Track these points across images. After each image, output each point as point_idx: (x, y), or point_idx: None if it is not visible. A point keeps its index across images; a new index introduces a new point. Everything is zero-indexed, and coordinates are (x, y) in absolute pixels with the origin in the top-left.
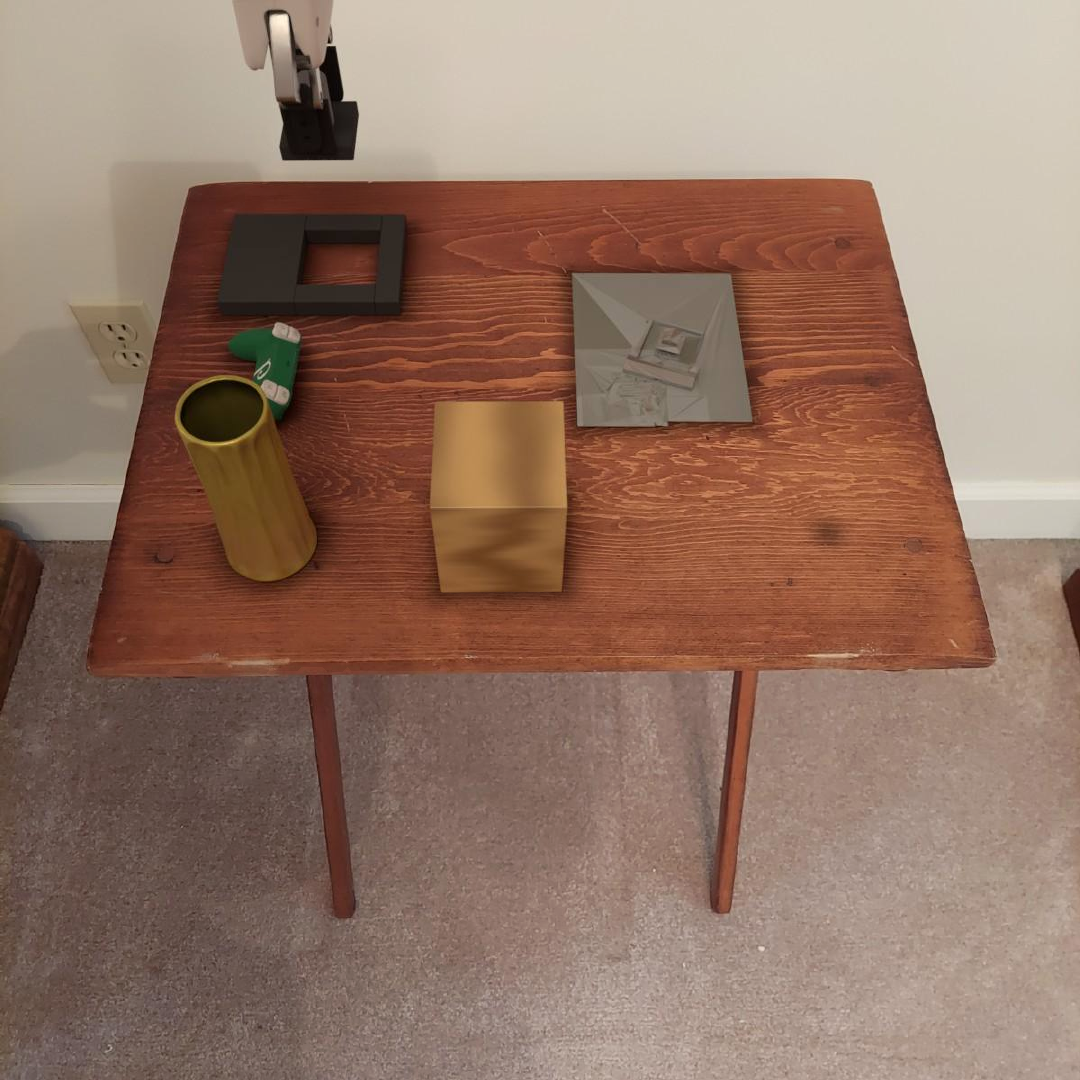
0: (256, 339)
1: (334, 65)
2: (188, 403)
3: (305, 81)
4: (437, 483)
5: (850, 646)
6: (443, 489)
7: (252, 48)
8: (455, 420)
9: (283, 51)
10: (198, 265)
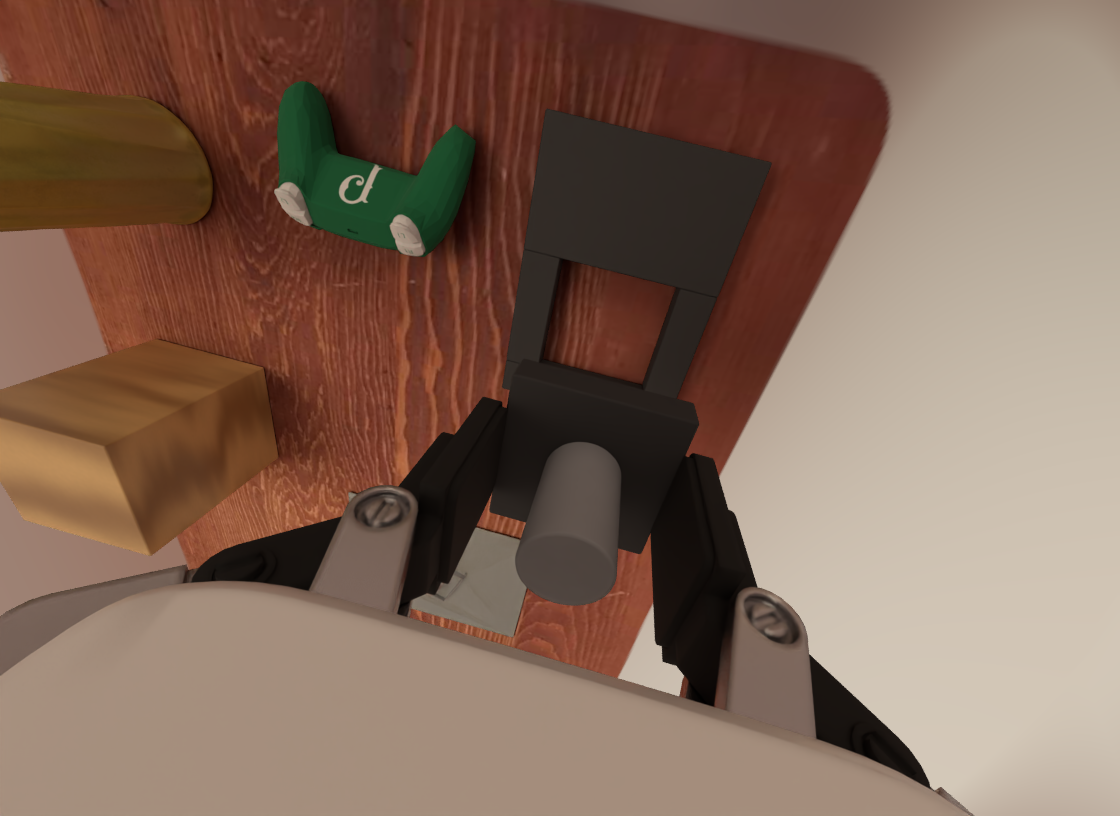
0: (417, 182)
1: (655, 612)
2: None
3: (551, 560)
4: None
5: (191, 568)
6: None
7: None
8: (84, 460)
9: None
10: (690, 69)
